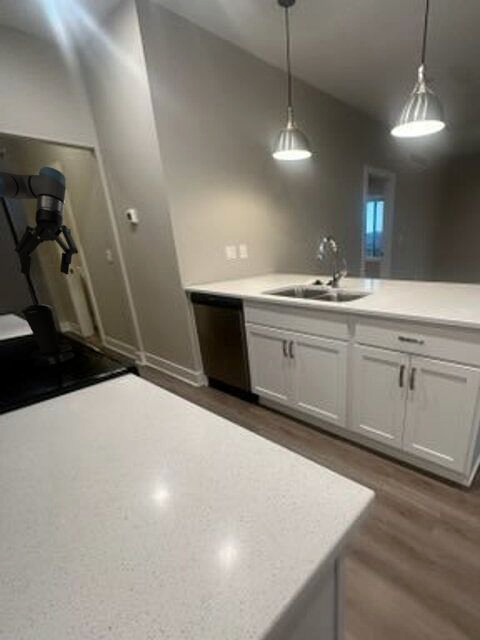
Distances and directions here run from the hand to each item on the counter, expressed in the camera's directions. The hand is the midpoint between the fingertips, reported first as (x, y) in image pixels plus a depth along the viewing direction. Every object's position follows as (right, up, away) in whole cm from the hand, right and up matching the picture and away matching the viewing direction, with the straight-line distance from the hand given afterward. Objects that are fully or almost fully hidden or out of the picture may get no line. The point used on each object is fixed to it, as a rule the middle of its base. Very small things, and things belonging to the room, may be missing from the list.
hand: (44, 273), depth 115 cm
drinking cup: (+7, -26, -6) cm, 28 cm away
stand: (+7, -30, -4) cm, 31 cm away
